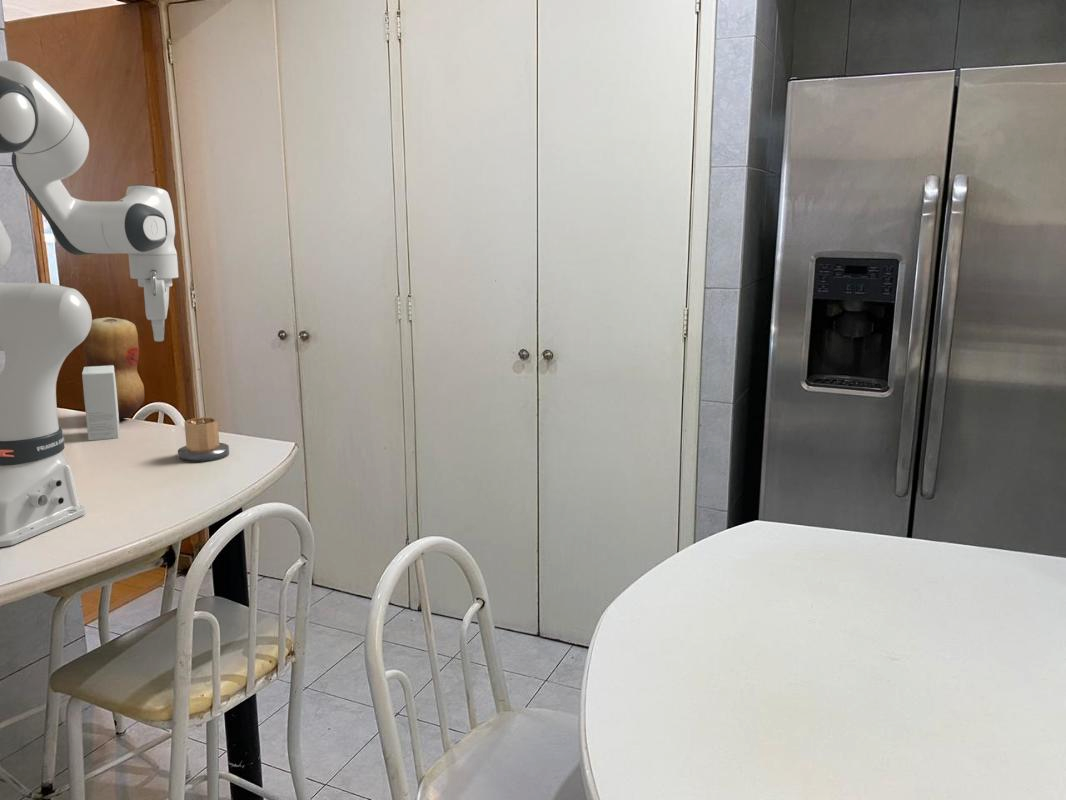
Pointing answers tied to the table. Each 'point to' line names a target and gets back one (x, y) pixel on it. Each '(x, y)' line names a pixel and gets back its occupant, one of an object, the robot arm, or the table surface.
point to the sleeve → (202, 435)
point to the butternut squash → (117, 359)
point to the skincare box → (101, 402)
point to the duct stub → (203, 454)
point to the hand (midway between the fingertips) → (159, 338)
